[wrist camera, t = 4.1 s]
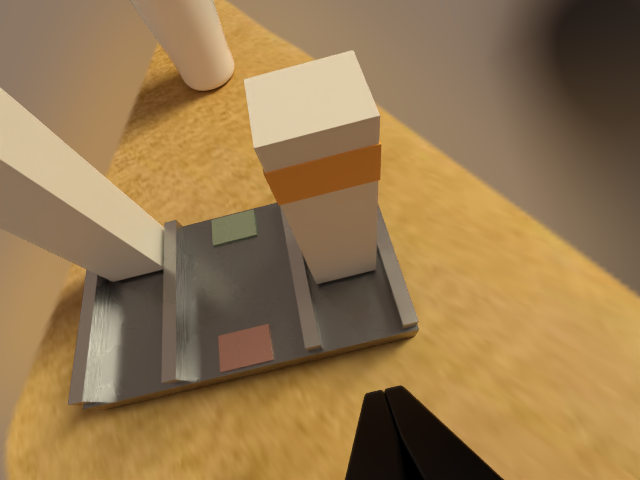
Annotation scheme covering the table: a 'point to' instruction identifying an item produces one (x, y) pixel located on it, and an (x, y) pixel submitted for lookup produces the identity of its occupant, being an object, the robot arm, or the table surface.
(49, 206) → the on lever
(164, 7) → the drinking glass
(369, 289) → the box
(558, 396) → the table surface
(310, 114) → the lever
